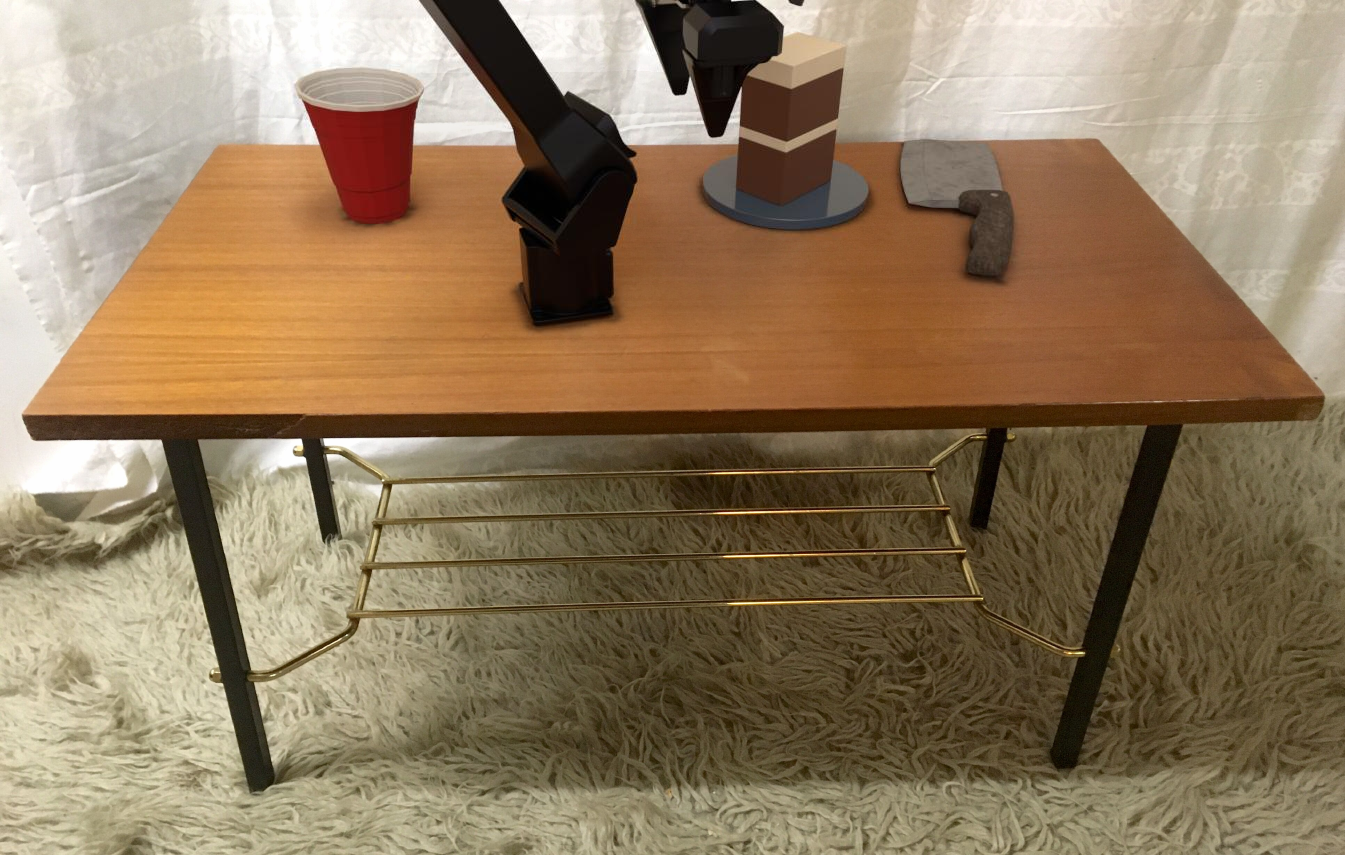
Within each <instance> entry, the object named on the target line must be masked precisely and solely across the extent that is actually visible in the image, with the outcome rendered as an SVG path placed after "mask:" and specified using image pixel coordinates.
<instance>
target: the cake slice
mask: <svg viewBox="0 0 1345 855" xmlns="http://www.w3.org/2000/svg"><path fill="white" fill-rule="evenodd" d="M846 54H847V44H844V43H840V42H836V41H832V40H828V39H825V38H821V37H818V36H814V35H812V34H811V35H810V34H808V33H807V34H806V33H804V32H799V31H796V32H793V33H791V34H789V35H785V36H783V45H782V53H781V54H780V55H778V56H773V57H772V58H771V59H770V60H769V62H767V63H762V64H759V65H757V66H756V67H755V68H754V69H753V70H751V71H750V72H749V73H748V74H747V76H746V78H745V80H744V82H743V85H742V87H741V89H740V91H741V92H740V106H739V107H740V109H739V127H738V141H737V142H738V143H737V144H738V145H737V155H738V159H737V177H736V189H738V190H740V191H743V192H746V193H748V194H751V195H753V196H756V197H759V198H761V199H764V200H766V201H769V202H772V203H774V204H777V205H780V206H783V205H785V204H786V203H788V202H790V201H792V200H794V199H796V198H798V197H800V196H802V195H804V194H806V193H808V192H810V191H812V190H813V189H815V188H817V187H819V186H821V185H823V184H825V183H827V182H829V181H831V175H832V167H833V160H834V157H835V148H836V141H837V131H838V130H837V128H838V124H839V123H838V122H839V115H840V114H839V113H840V105H841V96H842V89H843V87H842V86H843V78H844V72H845V71H844V69H845V63H846V61H845V60H846Z"/></svg>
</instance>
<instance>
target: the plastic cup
mask: <svg viewBox="0 0 1345 855" xmlns="http://www.w3.org/2000/svg"><path fill="white" fill-rule="evenodd" d="M293 87H294V90H295V91H296V94H297V97H298V99H300V100H301V102H302V103H303V105H304V108H305V111H306V112H307V115H308V118H309V121H310V124H311V127H312V129H313V130H314V133H315V136H316V138H317V141H318V144H319V147H320V150H321V154H322V156H323V158H324V161H325V164H326V167H327V170H328V173H329V175H330V178H331V181H332V184H333V185H334V186H335V189H336V192H337V195H338V197H339V200H340V203H341V206H342V208H343V211H344V212H345V214H346V216H347V218H348V219H351V220H352V221H353V222H358V223H362V224H382V223H389V222H391V221H394V220H397V219H399V218H401V217H403V216H405V214H407V212H408V210H409V203H410V201H411V176H412V174H413V173H412V172H413V155H414V154H413V153H414V135H415V121H416V119H417V118H416V117H417V109H418V107H419V101H420V99H421V97H422V95H423V94H424V91H425V86H424V84H423V83H422V82H421V80H420V79H418V78H416V77H413V76H412V75H410V74H407V73H404V72H399V71H395V70H390V69H387V68H386V69H385V68H375V67H373V68H372V67H337V68H331V69H325V70H318V71H314V72H311V73H309V74H306V75H303V76H300V78H299V79H298V80H297V81H296V82H295V83H294V84H293Z"/></svg>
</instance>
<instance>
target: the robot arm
mask: <svg viewBox="0 0 1345 855" xmlns="http://www.w3.org/2000/svg"><path fill="white" fill-rule="evenodd" d="M418 2H419V3H420V4H421V6H422V7H423V9H424V10H425V11H426V12H427V14H428V15H429V16H430V18H431V19H432V20H433V22H434V23H435V24H436V26H437V27H438V28H439V30H440V31H441V32H442V34H443V35H444V36H445V37H446V39H447V40H448V42H449V43H450V44H451V46H452V47H453V49H454V50H455V51H456V53H457V54H458V55H459V56H460V58H461V59H462V61H463V62H464V63H465V64H466V66H467V67H468V68H469V70H470V71H471V73H472V74H473V75H474V77H475V78H476V79H477V80H478V82H479V84H480V85H481V87H483V89H484V90H485V91H486V92H487V94H488V95H489V97H490V98H491V99H492V100H493V102H494V104H496V106H497V108H498V109H499V110H500V111H501V113H502V114H503V115H504V117H505V119H507V121H508V122H509V124H510V127H511V128H512V133H513V137H514V141H515V148H516V151H517V154H518V156H519V158H520V160H521V162H522V164H523V168H522V169H521V170H520V172H519V173H518V174H517V176H516V177H515V179H514V180H513V181H512V183H511V184H510V185H509V187H508V189H507V190H506V191H505V192H504V194H503V195H502V197H501V203H502V206H503V207H504V209H505V211H506V214H507V216H508V219H510V220H511V222H513V223H516V224H518V225H519V226H521V227H519V228H518V237H519V250H520V261H521V262H520V263H521V276H522V277H521V278H522V281H520V282H519V283H518V289H519V293H520V295H521V298H522V300H523V304H524V306H525V308H526V311H527V313H528V316H529V319H530V322H531V324H532V325H533V326H535V327H542V326H549V325H556V324H564V323H571V322H577V321H583V320H584V321H585V320H591V319H599V318H605V317H610V316H613V314H614V307H613V305H612V303H611V301H610V299H612V298H613V296H614V295H615V288H614V287H615V286H614V284H615V282H614V252H613V250H612V249H613V248H615V247H616V246H617V244H618V240H619V238H620V234H621V231H622V228H623V224H624V221H625V218H626V215H627V212H628V208H629V204H630V201H631V199H632V197H633V195H634V192H635V185H636V184H638V181H639V180H638V179H639V178H638V173H637V170H636V167H635V164H634V163H633V162H632V160H631V159H632V158H635V157H636V156H637V154H638V152H637V151H635V150H634V149H632V148H630V147H629V146H628V145H627V144H626V143H625V142H624V140H623V138H622V136H621V134H620V130H619V128H618V126H617V124H616V122H615V121H614V119H613V117H612V115H610V113H608V112H606V111H604V110H602V109H601V108H599V107H597V106H595V105H594V104H592V103H590V102H589V101H587V100H585V99H583V98H582V97H580V96H578V95H577V94H575V93H573V92H571V91H569V90H567V91H566V92H565V94H563V92H562V90H560V88H559V87H558V85H557V84H556V82H555V81H554V79H553V78H552V76H551V75H550V73H549V72H548V70H547V69H546V67H545V66H544V65H543V63H542V62H541V60H540V58H539V56H538V55H537V54H536V52H535V50H534V49H533V48H532V47H531V45H530V44H529V42H528V40H527V38H526V37H525V36H524V35H523V33H522V32H521V30H520V28H519V27H518V25H517V24H516V23H515V22H514V20H513V18H512V17H511V16H510V14H509V12H508V10H506V8H505V6H504V5H503V3H502V2H501V1H500V0H418ZM634 2H635V5H636V7H637V8H638V11H639V14H640V16H641V18H642V21H643V23H644V25H645V28H646V31H647V34H648V35H649V38H650V40H651V42H652V45H653V48H654V51H655V52H656V56H657V57H658V60H659V63H660V66H661V68H662V70H663V73H664V75H665V78H666V80H667V83H668V85H669V88H670V91H671V93H672V95H674V96H676V97H677V96H679V97H680V96H685V95H686V94H687V92H688V88H689V84H690V80H691V84H692V87H693V91H694V95H695V97H696V101H697V104H698V107H699V108H698V109H699V111H700V114H701V117H702V121H703V124H704V127H705V129H706V130H705V131H706V133H707V136H708V137H709V138H711V139H715V138H721V137H723V136H724V134H725V132H726V130H727V127H728V124H729V122H730V118H731V116H732V113H733V110H734V108H735V105H736V102H737V100H738V97H739V94H740V93H741V92H740V91H741V89H742V85H743V82H744V80H745V78H746V76H747V74H748V73H749V72H750V71H751V70H753V69H754V68H755V67H756V66H757V65H759V64H762V63H767V62H769V60H770V59H771V58H772V57H773V56H778V55H780V54H781V53H782V45H783V37H784V33H785V32H784V30H785V25H784V24H783V23H782V22H781V21H780V20H779V18H778V17H777V16H776V15H775V14H774V13H773V12H772V11H771V10H770V9H768V8H767V7H766V6H764V5H763V4H762V3H761V2H759V1H758V0H634ZM788 3H789V4H791V5H794V6H797V7H803V5H804V3H805V0H788Z"/></svg>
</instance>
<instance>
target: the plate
mask: <svg viewBox="0 0 1345 855" xmlns="http://www.w3.org/2000/svg"><path fill="white" fill-rule="evenodd" d="M737 159H738V154H734V155H731V156H728V157H725V158H723V159H720V160H719V161H717V162H715V163H714V164H712V165H711V166H710V167H708V169H707V170H706V171H705V173H704V174H703V177H702V195H703V197H704V200H705V201H706V202H707V203H708V204H709V205H710V206H711V207H712V208H713V209H714V210H715V211H717V212H718V213H720V214H722V215H724V216H726V217H728V218H731V219H732V220H736V221H738V222H740V223H743V224H747V225H750V226H751V225H752V226H757V227H760V228H761V227H762V228H768V229H777V230H789V231H790V230H791V231H798V230H799V231H800V230H801V231H802V230H813V229H816V230H817V229H822V228H828V227H833V226H836V225H840V224H843V223H845V222H847V221H850V220H852V219H854V218H855V217H857V216H859V214H861V212H863V211H864V209H865V207H866V206H867V204H868V199H869V190H870V188H869V184H868V182H867V180H866V179H865V178H864V176H863V175H862V174H861V173H860V172H859V171H857V170H856V169H854V168H852V167H851V166H850V165H848V164H845V163H844V162H841V161H838V160H836V159H833V167H832V175H831V181H829V182H827V183H825V184H823V185H821V186H819V187H817V188H815V189H813V190H812V191H810V192H808V193H806V194H804V195H802V196H800V197H798V198H796V199H794V200H792V201H790V202H788V203H786V204H785V205H783V206H780V205H777V204H774V203H772V202H769V201H766V200H764V199H761V198H759V197H756V196H753V195H751V194H748V193H746V192H743V191H740V190H738V189H736V177H737Z"/></svg>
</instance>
